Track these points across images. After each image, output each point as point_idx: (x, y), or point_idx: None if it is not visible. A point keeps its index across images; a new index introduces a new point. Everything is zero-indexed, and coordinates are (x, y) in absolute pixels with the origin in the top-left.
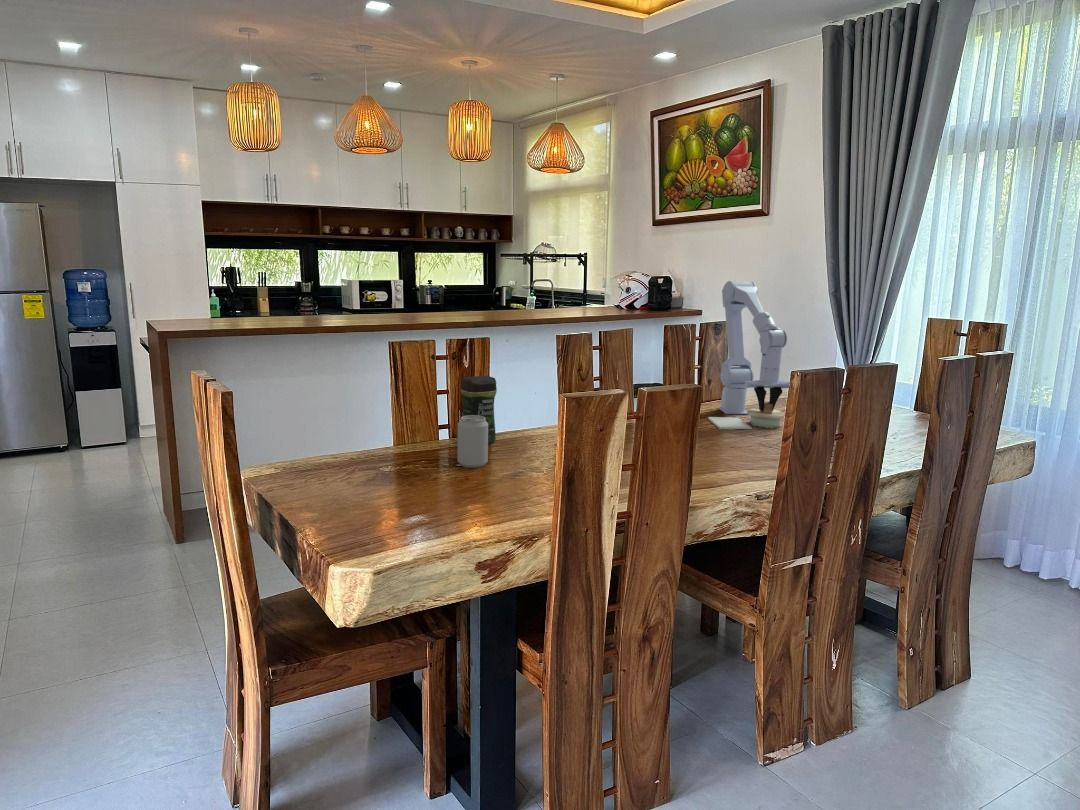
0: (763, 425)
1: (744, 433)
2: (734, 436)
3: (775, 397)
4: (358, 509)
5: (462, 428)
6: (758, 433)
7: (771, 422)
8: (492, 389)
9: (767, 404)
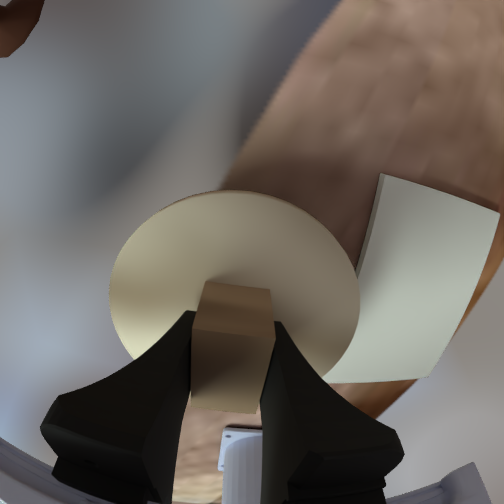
0: None
1: (446, 113)
2: (494, 85)
3: (152, 381)
4: None
5: None
6: (381, 91)
7: None
8: None
9: (249, 335)
